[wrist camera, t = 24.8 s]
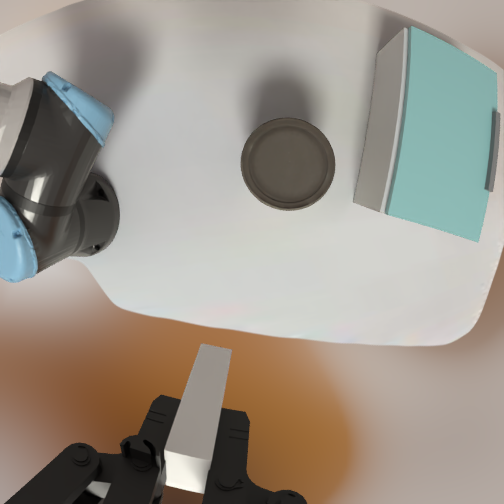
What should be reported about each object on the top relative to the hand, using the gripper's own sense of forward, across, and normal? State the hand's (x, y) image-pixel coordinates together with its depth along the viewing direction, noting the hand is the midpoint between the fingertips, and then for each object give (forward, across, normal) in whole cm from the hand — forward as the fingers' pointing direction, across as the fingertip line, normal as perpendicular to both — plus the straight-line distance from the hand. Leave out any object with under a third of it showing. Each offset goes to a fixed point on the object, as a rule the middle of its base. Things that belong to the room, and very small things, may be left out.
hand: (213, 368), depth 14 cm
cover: (+22, +24, +21) cm, 39 cm away
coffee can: (+35, +3, +11) cm, 36 cm away
